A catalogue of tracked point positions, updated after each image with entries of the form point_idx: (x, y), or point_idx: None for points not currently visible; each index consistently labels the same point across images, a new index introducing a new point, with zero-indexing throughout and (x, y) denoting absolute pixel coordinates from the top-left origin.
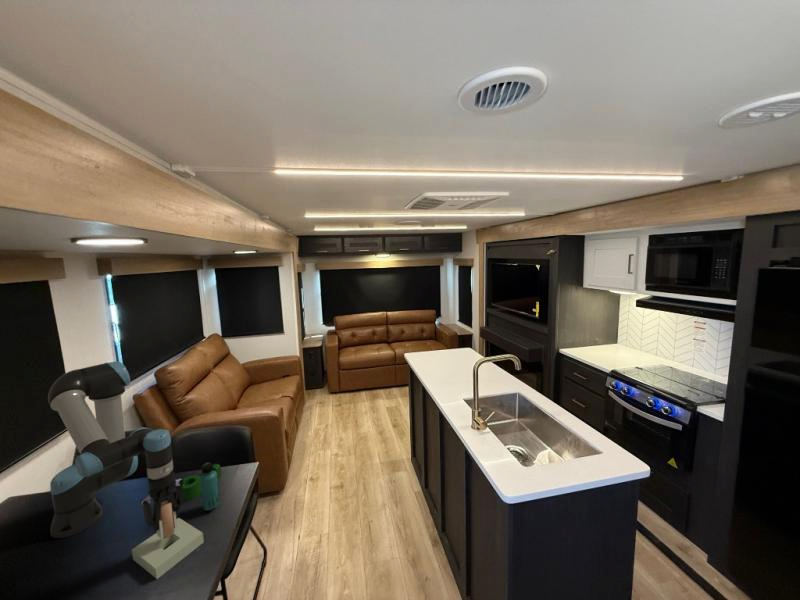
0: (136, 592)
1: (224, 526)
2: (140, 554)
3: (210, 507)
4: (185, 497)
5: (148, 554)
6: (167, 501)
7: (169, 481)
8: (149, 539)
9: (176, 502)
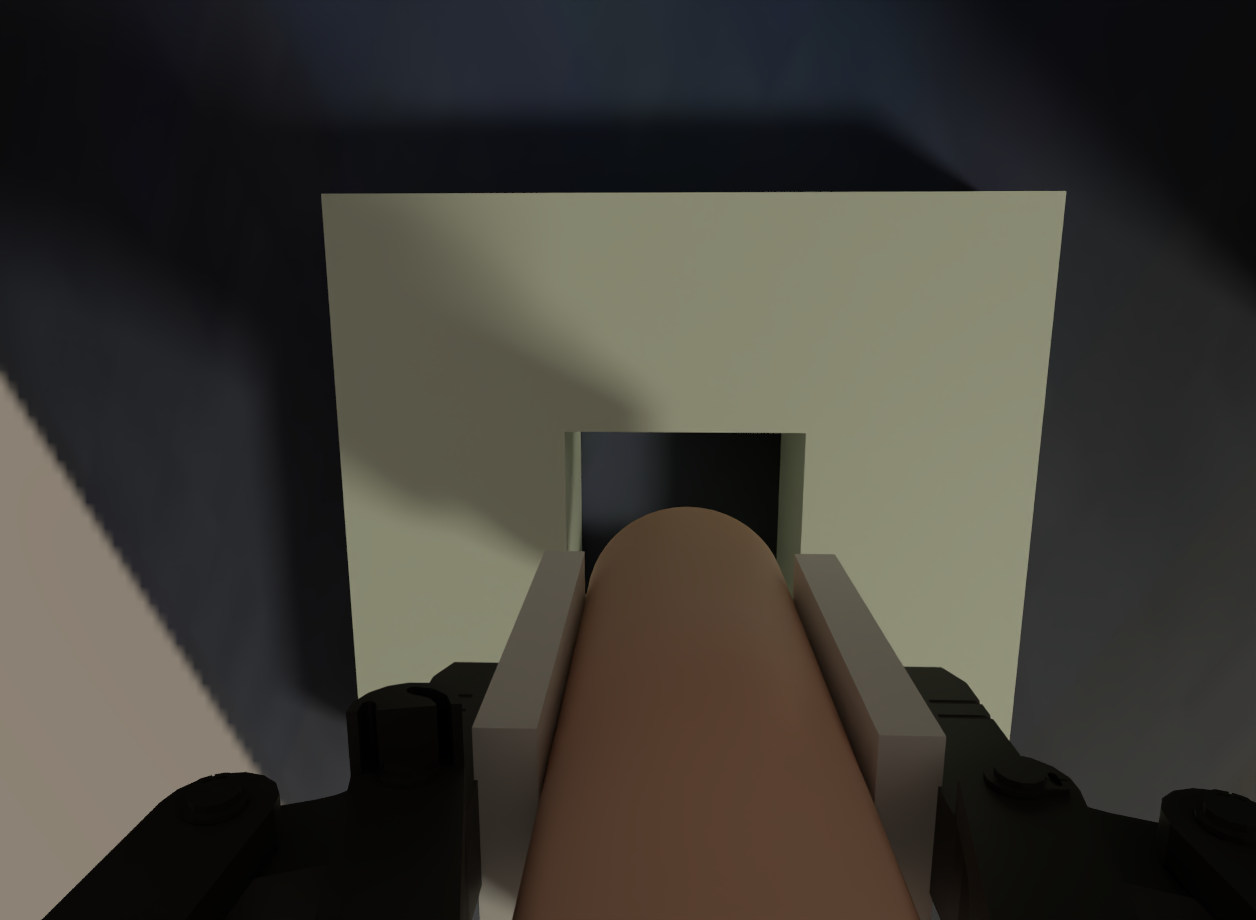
0: (232, 716)
1: (1232, 779)
2: (355, 424)
3: None
4: None
5: (417, 531)
6: None
7: None
8: (557, 236)
9: (1180, 853)
